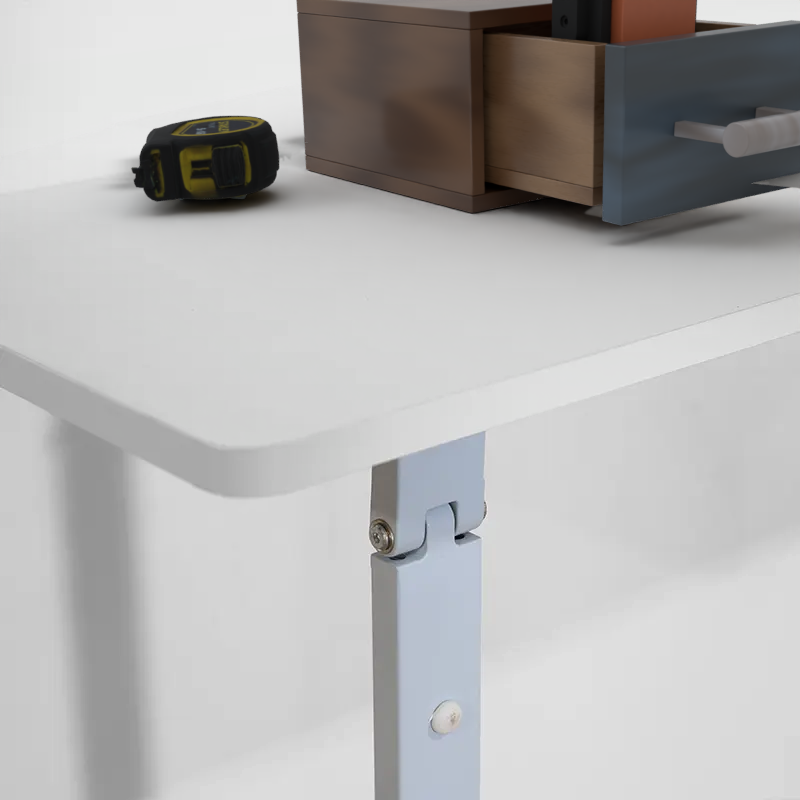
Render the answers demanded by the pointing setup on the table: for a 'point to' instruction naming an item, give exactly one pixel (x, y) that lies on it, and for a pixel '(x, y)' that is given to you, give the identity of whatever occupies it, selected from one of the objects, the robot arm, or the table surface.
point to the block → (651, 19)
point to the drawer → (643, 116)
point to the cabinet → (404, 94)
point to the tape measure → (208, 159)
